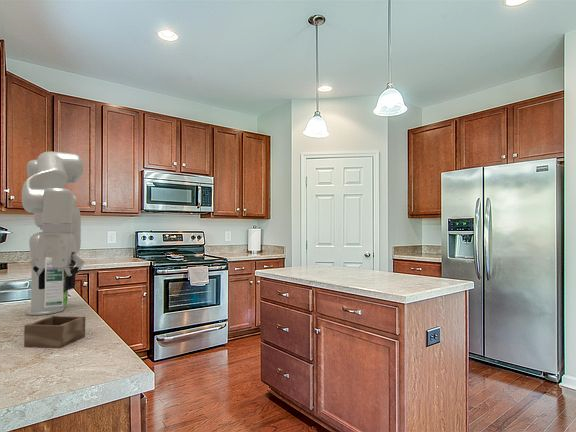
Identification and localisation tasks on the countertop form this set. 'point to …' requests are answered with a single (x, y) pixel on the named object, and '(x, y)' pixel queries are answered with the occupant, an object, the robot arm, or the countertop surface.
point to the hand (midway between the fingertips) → (56, 288)
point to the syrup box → (55, 286)
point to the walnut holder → (54, 331)
